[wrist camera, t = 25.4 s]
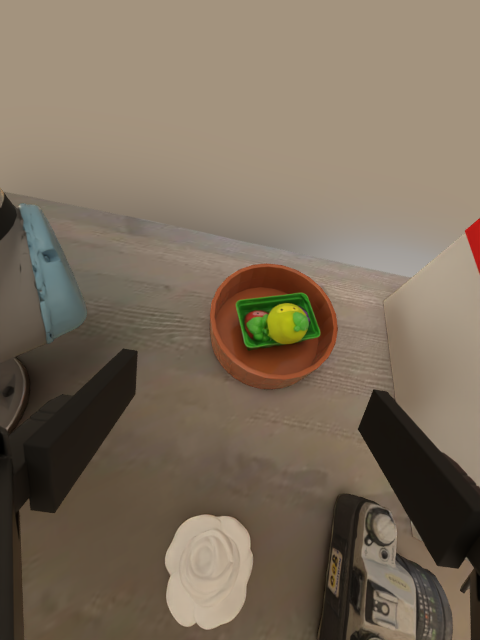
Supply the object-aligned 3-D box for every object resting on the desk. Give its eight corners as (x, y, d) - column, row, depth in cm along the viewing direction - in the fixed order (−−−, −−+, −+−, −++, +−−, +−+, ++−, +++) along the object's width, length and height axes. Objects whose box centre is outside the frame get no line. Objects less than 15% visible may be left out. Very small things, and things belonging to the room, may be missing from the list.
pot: (186, 345, 40) (183, 328, 35) (249, 270, 48) (254, 245, 42) (287, 414, 37) (302, 408, 32) (336, 322, 45) (355, 303, 39)
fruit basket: (296, 307, 45) (321, 266, 35) (312, 355, 41) (346, 325, 31) (231, 315, 43) (238, 275, 33) (242, 367, 39) (254, 340, 29)
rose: (212, 685, 22) (134, 594, 24) (211, 649, 26) (144, 573, 28) (277, 563, 26) (206, 493, 28) (268, 548, 30) (206, 488, 32)
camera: (403, 695, 26) (503, 822, 17) (306, 657, 27) (355, 762, 18) (406, 513, 33) (477, 537, 25) (329, 486, 34) (372, 499, 25)
